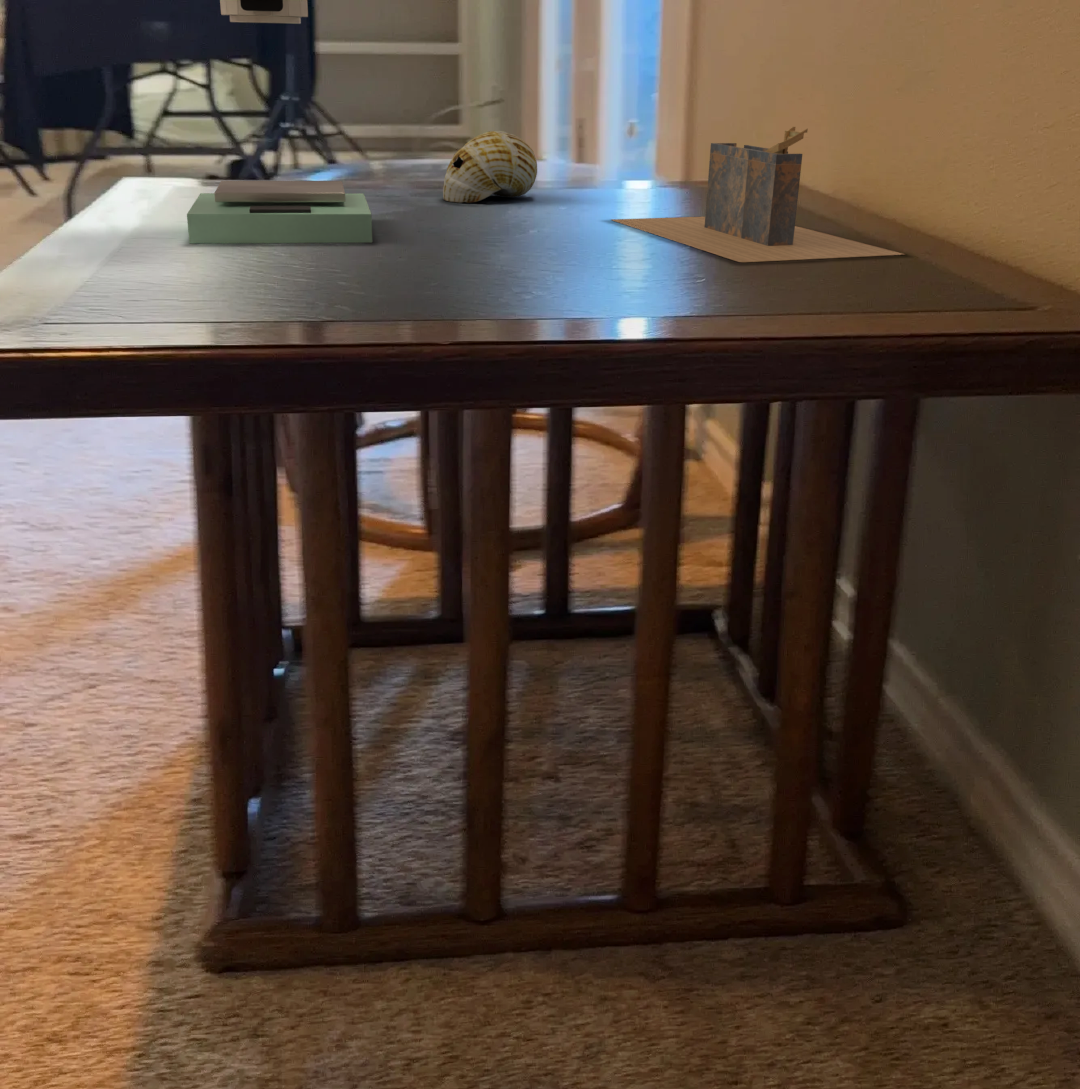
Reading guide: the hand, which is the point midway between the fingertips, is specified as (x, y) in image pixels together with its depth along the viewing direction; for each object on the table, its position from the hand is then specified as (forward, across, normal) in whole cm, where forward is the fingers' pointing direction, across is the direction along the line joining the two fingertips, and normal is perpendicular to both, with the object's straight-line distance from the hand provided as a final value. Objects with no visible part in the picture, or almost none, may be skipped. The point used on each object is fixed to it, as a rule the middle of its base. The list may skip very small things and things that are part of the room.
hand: (264, 9), depth 94 cm
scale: (+18, -3, 0) cm, 18 cm away
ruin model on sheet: (+18, 0, +42) cm, 46 cm away
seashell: (+18, -26, +22) cm, 39 cm away
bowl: (+1, 0, 0) cm, 1 cm away
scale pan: (+15, -5, 0) cm, 16 cm away
